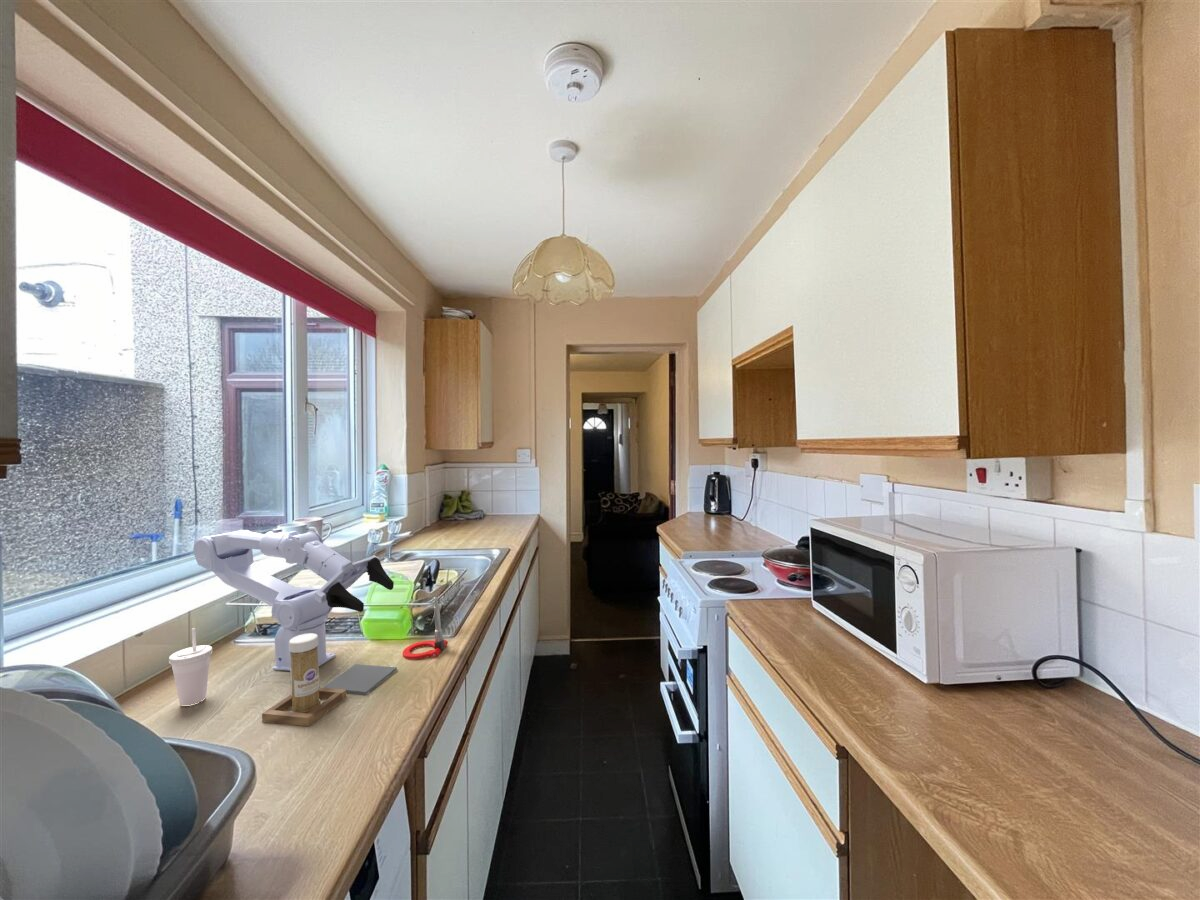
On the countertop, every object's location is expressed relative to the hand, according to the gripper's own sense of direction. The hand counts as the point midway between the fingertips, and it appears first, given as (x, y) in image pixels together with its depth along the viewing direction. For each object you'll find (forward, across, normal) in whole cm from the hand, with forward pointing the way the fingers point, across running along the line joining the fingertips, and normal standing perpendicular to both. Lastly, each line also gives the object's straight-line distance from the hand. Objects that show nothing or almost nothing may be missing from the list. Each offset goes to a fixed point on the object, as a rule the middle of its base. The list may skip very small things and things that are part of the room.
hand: (377, 596), depth 99 cm
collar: (+3, -19, +11) cm, 22 cm away
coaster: (+4, -8, +15) cm, 17 cm away
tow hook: (+8, +6, +18) cm, 21 cm away
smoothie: (-18, -26, +19) cm, 37 cm away
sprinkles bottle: (+3, -19, +11) cm, 22 cm away
